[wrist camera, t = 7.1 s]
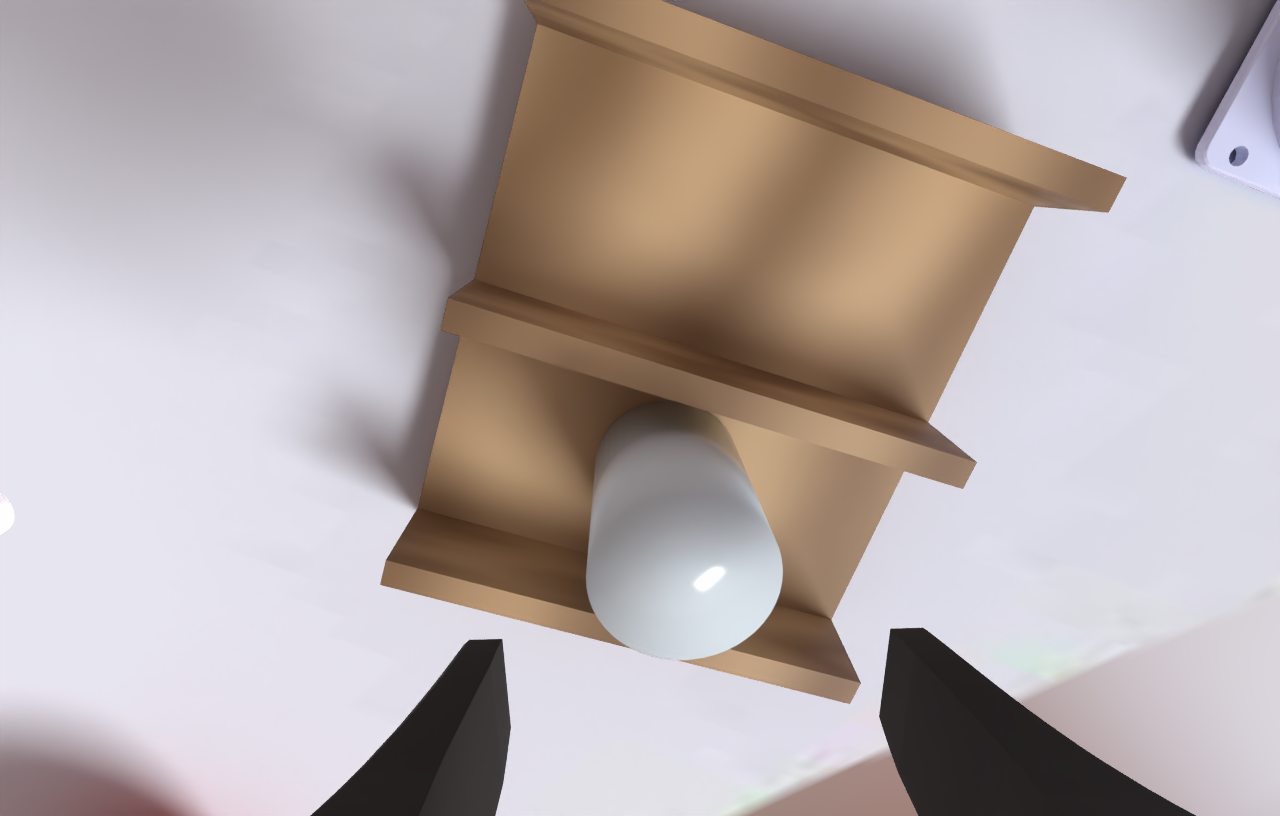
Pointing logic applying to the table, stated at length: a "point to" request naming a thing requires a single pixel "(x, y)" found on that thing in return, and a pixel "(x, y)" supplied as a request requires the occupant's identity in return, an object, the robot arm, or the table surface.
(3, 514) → the slotted bracket
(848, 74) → the rack
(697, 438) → the cylinder
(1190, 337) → the table surface
